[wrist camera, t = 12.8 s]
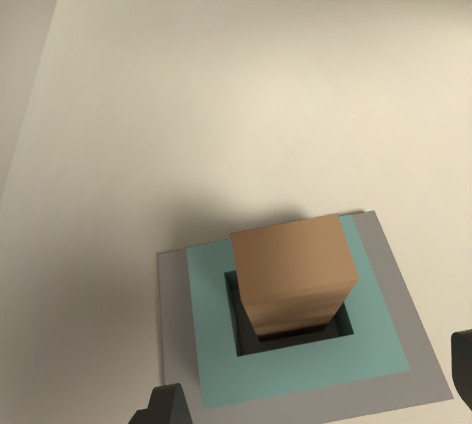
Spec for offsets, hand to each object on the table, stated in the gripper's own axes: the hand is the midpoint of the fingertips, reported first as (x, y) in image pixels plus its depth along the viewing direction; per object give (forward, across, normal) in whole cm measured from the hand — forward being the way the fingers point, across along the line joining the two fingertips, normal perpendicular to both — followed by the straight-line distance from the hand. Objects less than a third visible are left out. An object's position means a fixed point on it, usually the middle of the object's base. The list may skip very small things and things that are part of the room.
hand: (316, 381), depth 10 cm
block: (+11, 0, +5) cm, 12 cm away
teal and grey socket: (+11, 0, +6) cm, 13 cm away
